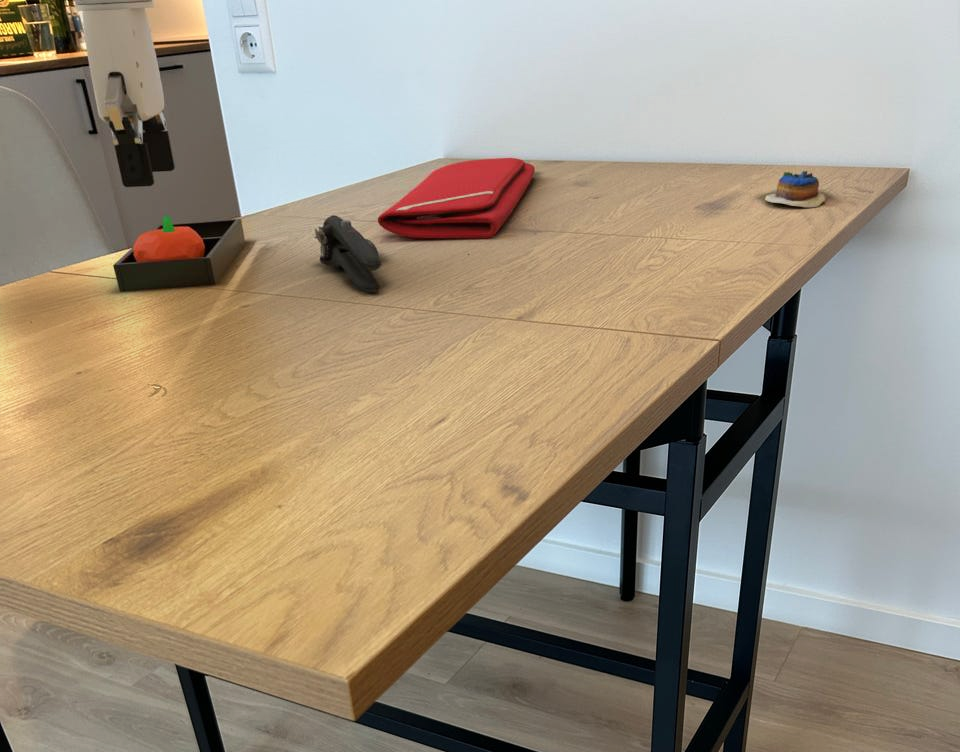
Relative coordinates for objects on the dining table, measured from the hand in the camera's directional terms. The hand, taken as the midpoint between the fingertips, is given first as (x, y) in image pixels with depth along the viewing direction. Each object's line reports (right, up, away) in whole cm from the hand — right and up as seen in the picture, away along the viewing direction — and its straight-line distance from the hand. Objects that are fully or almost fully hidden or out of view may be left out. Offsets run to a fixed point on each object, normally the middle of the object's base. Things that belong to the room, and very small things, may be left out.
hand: (150, 178), depth 109 cm
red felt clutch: (+34, +11, +32) cm, 48 cm away
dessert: (+77, +6, +20) cm, 80 cm away
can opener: (+22, -10, +3) cm, 25 cm away
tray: (+1, -6, +10) cm, 12 cm away
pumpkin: (+1, -9, +6) cm, 11 cm away
